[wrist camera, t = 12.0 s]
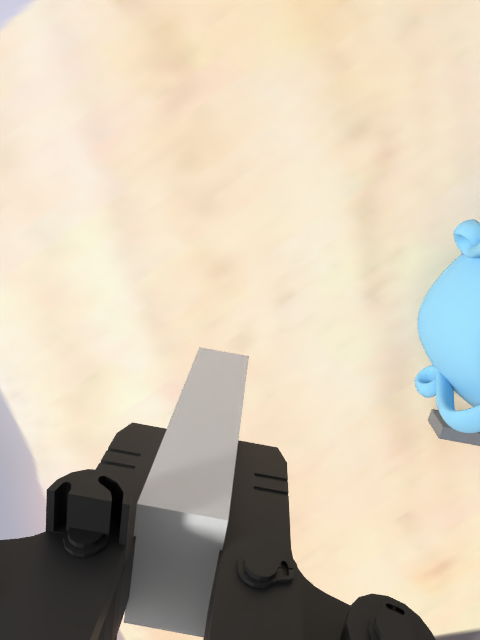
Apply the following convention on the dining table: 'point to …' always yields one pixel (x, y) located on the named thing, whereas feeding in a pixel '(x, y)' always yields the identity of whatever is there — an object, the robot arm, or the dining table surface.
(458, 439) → the grey piece
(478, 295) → the decorative pot
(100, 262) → the dining table surface
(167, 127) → the dining table surface
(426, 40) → the dining table surface
